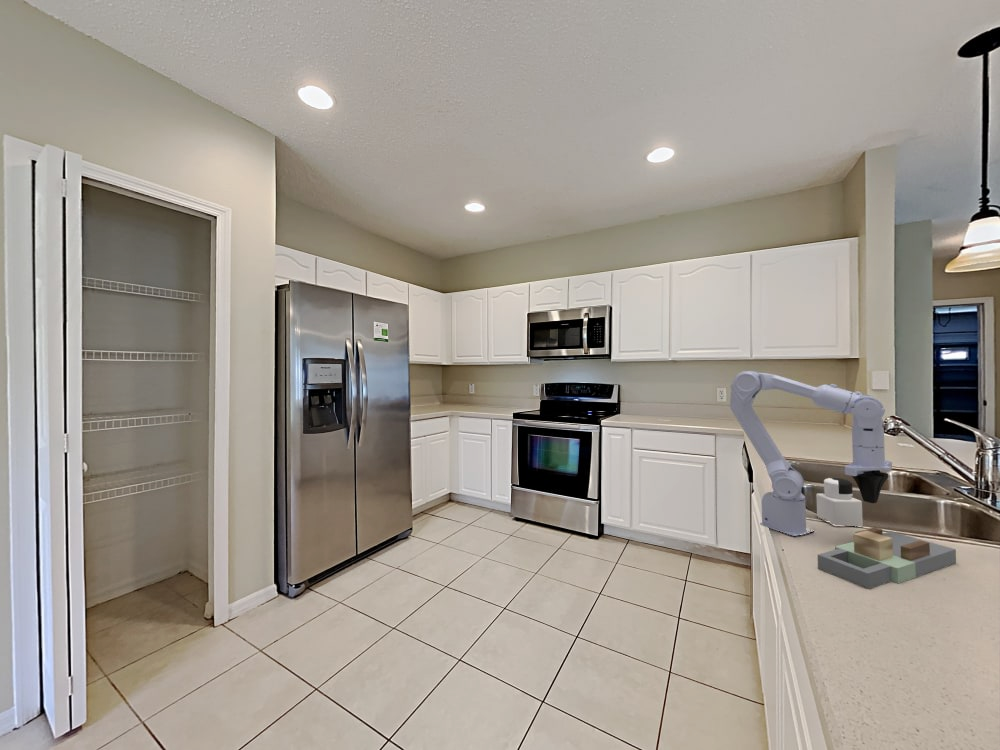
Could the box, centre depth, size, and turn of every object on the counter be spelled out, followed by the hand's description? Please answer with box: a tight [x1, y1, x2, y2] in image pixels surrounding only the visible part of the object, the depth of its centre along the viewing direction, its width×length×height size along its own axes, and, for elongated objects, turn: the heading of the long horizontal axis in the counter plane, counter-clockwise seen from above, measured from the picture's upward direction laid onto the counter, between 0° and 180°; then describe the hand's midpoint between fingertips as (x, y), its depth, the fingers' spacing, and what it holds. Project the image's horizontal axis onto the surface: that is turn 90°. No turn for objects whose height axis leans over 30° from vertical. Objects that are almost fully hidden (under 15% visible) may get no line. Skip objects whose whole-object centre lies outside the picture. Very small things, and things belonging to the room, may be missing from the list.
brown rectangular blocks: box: [854, 526, 930, 561], centre depth 87 cm, size 10×7×2 cm
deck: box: [817, 530, 957, 590], centre depth 87 cm, size 11×28×3 cm, turn 110°
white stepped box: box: [816, 477, 864, 528], centre depth 111 cm, size 7×7×12 cm
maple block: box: [853, 531, 893, 561], centre depth 85 cm, size 4×4×4 cm
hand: (870, 501), depth 96 cm, fingers closed
